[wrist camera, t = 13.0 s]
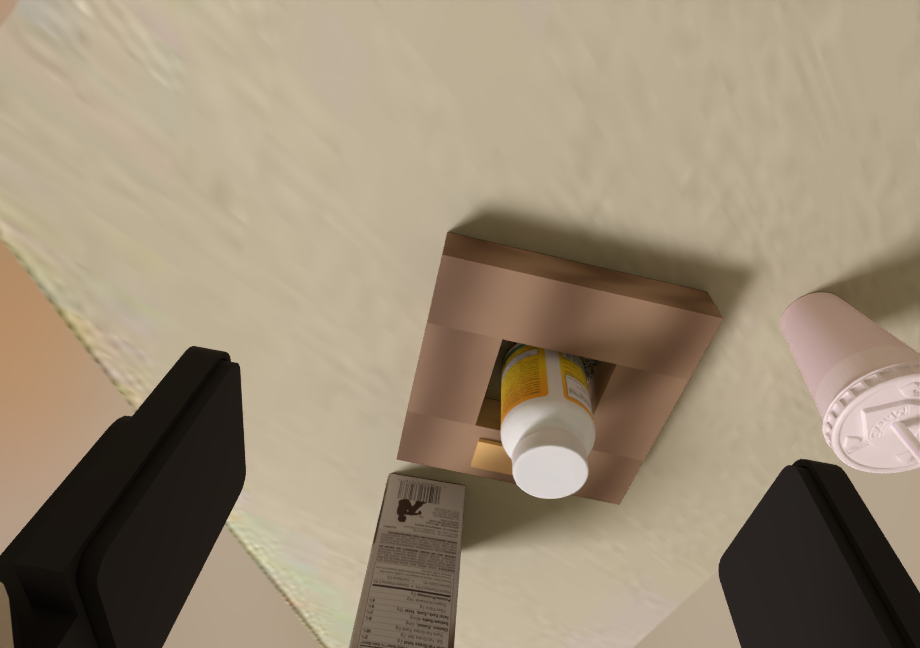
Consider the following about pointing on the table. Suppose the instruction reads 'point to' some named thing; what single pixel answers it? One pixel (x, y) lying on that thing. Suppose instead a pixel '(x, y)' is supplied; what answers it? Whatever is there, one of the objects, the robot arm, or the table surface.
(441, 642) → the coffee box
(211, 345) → the table surface
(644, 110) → the table surface
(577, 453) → the supplement bottle
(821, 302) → the smoothie
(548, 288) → the socket block
